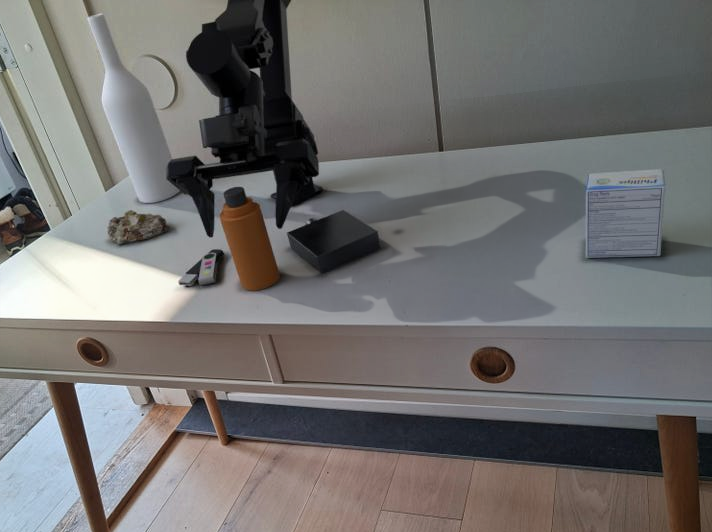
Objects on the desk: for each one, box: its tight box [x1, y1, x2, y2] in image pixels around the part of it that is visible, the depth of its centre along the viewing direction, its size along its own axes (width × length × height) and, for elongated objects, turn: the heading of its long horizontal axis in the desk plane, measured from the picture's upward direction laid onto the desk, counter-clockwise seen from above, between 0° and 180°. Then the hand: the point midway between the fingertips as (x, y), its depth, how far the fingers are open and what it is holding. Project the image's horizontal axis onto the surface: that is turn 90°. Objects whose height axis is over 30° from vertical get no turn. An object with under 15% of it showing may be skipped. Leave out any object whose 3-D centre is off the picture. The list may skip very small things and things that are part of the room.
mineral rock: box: [107, 209, 169, 246], centre depth 113 cm, size 11×4×8 cm
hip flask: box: [286, 209, 382, 275], centre depth 96 cm, size 12×9×3 cm
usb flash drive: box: [178, 248, 225, 287], centre depth 97 cm, size 9×5×1 cm, turn 155°
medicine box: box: [585, 168, 666, 259], centre depth 78 cm, size 8×4×9 cm, turn 71°
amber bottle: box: [218, 186, 280, 291], centre depth 89 cm, size 5×5×13 cm
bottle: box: [87, 13, 181, 204], centre depth 119 cm, size 8×8×30 cm
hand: (244, 232), depth 88 cm, fingers open, 9 cm apart
